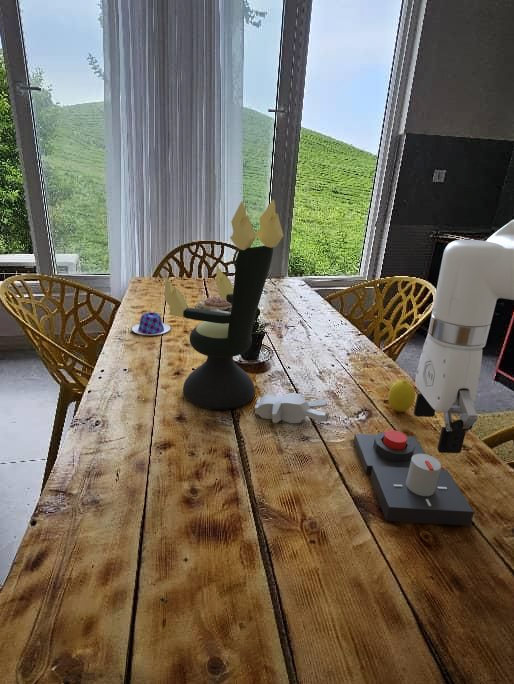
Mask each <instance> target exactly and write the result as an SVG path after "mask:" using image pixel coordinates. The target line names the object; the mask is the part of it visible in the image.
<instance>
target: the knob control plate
mask: <svg viewBox="0 0 514 684" xmlns="http://www.w3.org/2000/svg"><path fill="white" fill-rule="evenodd" d="M408 472H409V468H403V467H384V466H372V471H371V475H369V476H370V477H369V480H370V483H371V485H372V487H373V489H374V493H375V496H376V498H377V501H378V503H379V506H380V508H381V511H382V514H383V517H384V519H385V522H399V523H413V524H414V523H417V524H431V525H432V524H433V525H434V524H435V525H453V526H469V527H470V526H471V523H472V520H473V517H474V514H475V511H474V509H473V507H472V506H471V504H470V503H469V501H468V500H467V498H466V497H465V495H464V493H463V492H462V490H461V489H460V487H459V486H458V484H457V483H456V481H455V480H454V478H453V477H452V475H451V473H450V472H449V470H448V469H440V473H439V477H438V481H437V485H436V488H435V492H434V494H433V495H431V496H421V495H417V494H415V493H413V492H412V491H410V490H409V489H408V487H407V485H406V481H407V476H408Z"/></svg>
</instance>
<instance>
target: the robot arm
mask: <svg viewBox="0 0 514 684" xmlns="http://www.w3.org/2000/svg"><path fill="white" fill-rule="evenodd" d="M498 299H505V300H512V301H514V219H512V220H510V221H509V222H508V223H506V224H505V225H503V226H502V227H501V228H499V229H498V230H497V231H495V232H494V233H493V234H492V235H490V236H489V237H488V238H487V239H486V240H481V239H457V240H453V241H450V242H449V243H448V244H447V245H446V246H445V248H444V250H443V254H442V258H441V264H440V268H439V275H438V279H437V285H436V290H435V296H434V301H433V305H432V310H431V315H430V321H429V324H428V325H429V327H428V330H427V335H426V338H425V341H424V343H423V346H422V350H421V354H420V357H419V361H418V366H417V370H416V375H415V379H414V381H415V382H414V383H415V386H416V389H417V396H416V398H415V399H416V400H415V405H414V410H413V415H414V416H415V417H418V418H433V417H435V413H439V414H443V418H444V426H442V427H441V430H440V434H439V440H438V443H437V451H438V453H441V454H460V453H461V452H462V449H463V445H464V442H465V441H464V440H465V438H466V433H468V432H469V430H472V429H473V426H474V424H476V422H477V421H478V413H477V410H476V408H475V405H474V403H475V401H476V396H477V392H478V387H479V383H480V382H479V381H480V376H481V370H482V362H483V348H485V347H486V345H487V340H488V336H489V332H490V329H491V324H492V320H493V317H494V312H495V308H496V305H497V301H498ZM453 406H457V407H458V408H457V407H455V408H452V407H453ZM453 414H454V415H459V419H455V420H454V421H453V417H452V415H453Z"/></svg>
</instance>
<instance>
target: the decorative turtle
mask: <svg viewBox="0 0 514 684" xmlns="http://www.w3.org/2000/svg"><path fill="white" fill-rule="evenodd" d="M194 308H196V309H203V310H209V311H216V312H223V313H229V314H230V312H229V311H225V310H228V309H231V308H232V304H231V303H229V302H228V301H226V300H223V299H221V298H220V296H216V295H215V296H211V297H207V298H205V299H203V300H200V302H197V303H195V306H194Z"/></svg>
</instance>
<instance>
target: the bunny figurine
mask: <svg viewBox="0 0 514 684" xmlns="http://www.w3.org/2000/svg"><path fill="white" fill-rule="evenodd" d="M327 406H328V401H327V400H326V399H325V398H319V399H315V400H311V401H307V400H306V398H305V397H304V395H303V394H302V393H298V392H288V393H285V394H283V393H282V392H278V393H276V395H274V394H270V393H267V394H265V395H263V396H262V397H261V398H257V400H256V403H255V406H254V414H255V415H258V416H259V417H260V418H261V419H267V420H271V419H272V420H271V421H272V423H273V424H278V423H279V422H280V421H284V422H286V423H290V424H301V423H302V421H303V420H305V418H309V419H312V420H314V421H317V422H322V423H323V422H326V420H327V412H325V411H323V410H322V411H321V410H317V409H313V408H320V407H321V408H323V407H324V408H325V407H327Z"/></svg>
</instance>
